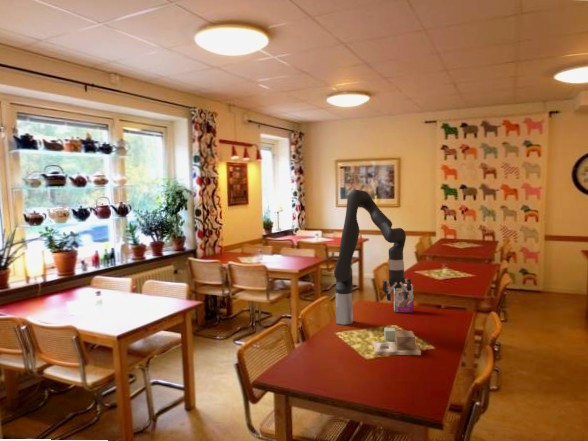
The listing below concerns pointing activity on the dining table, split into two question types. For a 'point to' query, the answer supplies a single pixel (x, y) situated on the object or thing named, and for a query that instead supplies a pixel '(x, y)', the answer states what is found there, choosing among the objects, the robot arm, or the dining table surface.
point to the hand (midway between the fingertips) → (397, 299)
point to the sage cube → (389, 334)
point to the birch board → (393, 349)
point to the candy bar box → (403, 300)
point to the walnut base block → (404, 340)
